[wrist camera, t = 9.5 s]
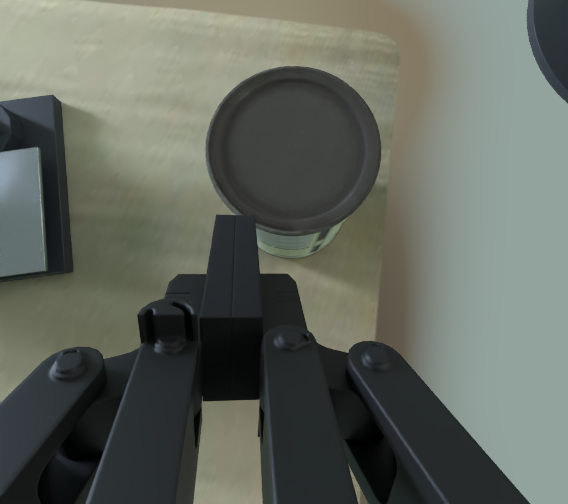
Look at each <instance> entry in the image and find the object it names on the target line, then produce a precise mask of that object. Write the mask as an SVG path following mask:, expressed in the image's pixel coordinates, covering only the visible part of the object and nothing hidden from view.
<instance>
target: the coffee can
mask: <svg viewBox="0 0 568 504" xmlns="http://www.w3.org/2000/svg"><path fill="white" fill-rule="evenodd" d="M380 161H381V141H380V134H379V130H378V126H377V123H376V120H375V118H374V116H373V114H372V112H371V110H370V108H369V107H368V105H367V104H366V103H365V101H364V100H363V99H362V97H361V96H360V95H359V94H358V93H357V92H356V91H355V90H354V89H353V88H352V87H350V86H349V85H348V84H347V83H345V82H344V81H342V80H341V79H339V78H338V77H336V76H334V75H332V74H329V73H327V72H324V71H321V70H318V69H314V68H309V67H300V66H285V67H278V68H273V69H269V70H265V71H263V72H260V73H257V74H255V75H253V76H252V77H250V78H248V79H246V80H244V81H243V82H241V83H240V84H239V85H237V86H236V87H235V88H234V89H233V90H232V91H231V92H230V93H229V94H228V95H227V96H226V97H225V98H224V100H223V101H222V102H221V103H220V105H219V106H218V108H217V110H216V111H215V113H214V115H213V118H212V120H211V122H210V125H209V129H208V133H207V138H206V164H207V169H208V173H209V176H210V179H211V181H212V184H213V186H214V188H215V190H216V192H217V194H218V195H219V197H220V198H221V199H222V201H223V202H224V203H225V204H226V206H227V207H228V208H229V209H230V210H231V211H232V212H233V213H234V215H252V216H255V221H256V233H257V245H258V247H259V248H261V249H262V250H264V251H266V252H267V253H270V254H272V255H275V256H279V257H284V258H300V257H305V256H308V255H311V254H314V253H316V252H318V251H319V250H321V249H323V248H324V247H325V246H327V245H328V244H329V243H330V242H331V241H332V239H333V238H334V237H335V235H336V234H337V233H338V231H339V229H340V227H341V226H342V225H343V223H344V222H345V221H346V220H347V218H348V217H349V216H350V215H351V214H352V213H353V212H354V211H355V210H356V209H357V208H358V207H359V206H360V205H361V204H362V202H363V201H364V200H365V198H366V197H367V196H368V194H369V192H370V191H371V189H372V187H373V185H374V183H375V180H376V178H377V175H378V171H379V167H380Z"/></svg>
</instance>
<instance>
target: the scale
mask: <svg viewBox="0 0 568 504" xmlns="http://www.w3.org/2000/svg"><path fill="white" fill-rule="evenodd" d="M34 147H38V148H40V153H41V169H42V185H43V201H44V217H45V233H46V248H47V264H48V271H41V272H34V273H27V274H20V275H12V276H5V277H0V282H5V281H12V280H19V279H26V278H34V277H41V276H48V275H56V274H63V273H70V272H73V262H72V248H71V234H70V220H69V205H68V191H67V177H66V163H65V149H64V135H63V121H62V107H61V102H60V101H59V100H58V99H57V98H56V97H55V96H54V95H47V96H40V97H32V98H25V99H17V100H10V101H2V102H0V152H4V151H12V150H19V149H27V148H34Z"/></svg>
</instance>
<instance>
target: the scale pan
mask: <svg viewBox="0 0 568 504" xmlns="http://www.w3.org/2000/svg"><path fill="white" fill-rule="evenodd" d="M41 271H48V264H47V248H46V233H45V217H44V201H43V185H42V169H41V153H40V148H38V147H34V148H27V149H19V150H12V151H4V152H0V277H5V276H12V275H20V274H27V273H34V272H41Z"/></svg>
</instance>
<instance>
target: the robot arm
mask: <svg viewBox="0 0 568 504" xmlns="http://www.w3.org/2000/svg"><path fill="white" fill-rule="evenodd" d="M137 316H138V323H139V331H140V338H141V346H140V348H138V349H136V350H134V351H132V352H130V353H126V354H123V355H119V356H115V357H111V358H107V359H103V355H102V354H101V353H100V352H99V351H98V350H96V349H93V348H90V347H74V348H69V349H65V350H62V351H60V352H58V353H55V354H53V355H51V356H50V357H48V358H47V359H46V360H44V361H43V362H42V363H41V364H40V365H39V366H38V367H37V368H36V369H35V370H34V371H33V372H32V373H31V374H30V375H29V376H28V377H27V378H26V379H25V380H24V381H23V382H21V383H20V384H19V385H18V386H17V387H16V388H15V389H14V390H13V391H12V392H11V393H10V394H9V395H8V396H7V397H6V398H5V399H4V400H3V401H2V402H1V403H0V504H193V499H194V490H195V481H196V471H197V462H198V453H199V443H200V434H201V424H202V406H201V404H202V396H203V401H228V400H259V398H260V406H259V425H258V437H260V452H261V474H262V497H263V504H358V501H357V497H356V493H355V489H354V485H353V482H352V478H351V474H350V470H349V466H350V468H351V470H352V472H353V474H354V476H355V478H356V480H357V482H358V484H359V486H360V488H361V490H362V492H363V494H364V495H365V497H366V499H367V501H368V503H369V504H530V503H529V502H528V501H527V500H526V498H525V497H524V496H523V495H522V494H521V493H520V492H519V490H518V489H517V488H516V487H515V486H514V485H513V484H512V482H511V481H510V480H509V479H508V478H507V477H506V476H505V474H504V473H503V472H502V471H501V470H500V469H499V467H498V466H497V465H496V464H495V463H494V462H493V461H492V460H491V458H490V457H489V456H488V455H487V454H486V453H485V451H484V450H483V449H482V448H481V447H480V446H479V445H478V443H477V442H476V441H475V440H474V439H473V438H472V437H471V435H470V434H469V433H468V432H467V431H466V430H465V429H464V427H463V426H462V425H461V424H460V423H459V422H458V420H457V419H456V418H455V417H454V416H453V415H452V414H451V412H450V411H449V410H448V409H447V408H446V407H445V406H444V404H443V403H442V402H441V401H440V400H439V399H438V397H437V396H436V395H435V394H434V393H433V392H432V391H431V390H430V388H429V387H428V386H427V385H426V384H425V383H424V381H423V380H422V379H421V378H420V377H419V376H418V375H417V373H416V372H415V371H414V370H413V369H412V368H411V367H410V365H409V364H408V363H407V362H406V361H405V360H404V359H403V357H402V356H401V355H400V354H399V353H398V352H396V351H395V350H394V349H393V348H391V347H389V346H387V345H385V344H383V343H379V342H374V341H362V342H360V343H357V344H354V345H353V346H352V347H351V349H350V350H349V353H346V352H341V351H336V350H333V349H329V348H326V347H324V346H322V345H320V344H318V343H317V342H316V340H315V338H314V336H313V334H312V333H310V332H309V331H308V330H307V326H306V322H305V318H304V314H303V310H302V305H301V301H300V297H299V293H298V289H297V285H296V282H295V281H294V280H293V279H292V278H291V277H290V276H289V275H288V274H260V269H259V257H258V245H257V233H256V221H255V216H252V215H216V219H215V225H214V231H213V237H212V244H211V250H210V256H209V262H208V268H207V274H178V275H177V276H176V277H175V278H174V279H173V280H172V281H171V282H169V285H168V288H167V291H166V294H165V297H164V299H161V300H158V301H155V302H152V303H150V304H148V305H147V306H145V307H143V308H142V309H141V311H140V312H139V313H138V315H137ZM348 464H349V466H348Z"/></svg>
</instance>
